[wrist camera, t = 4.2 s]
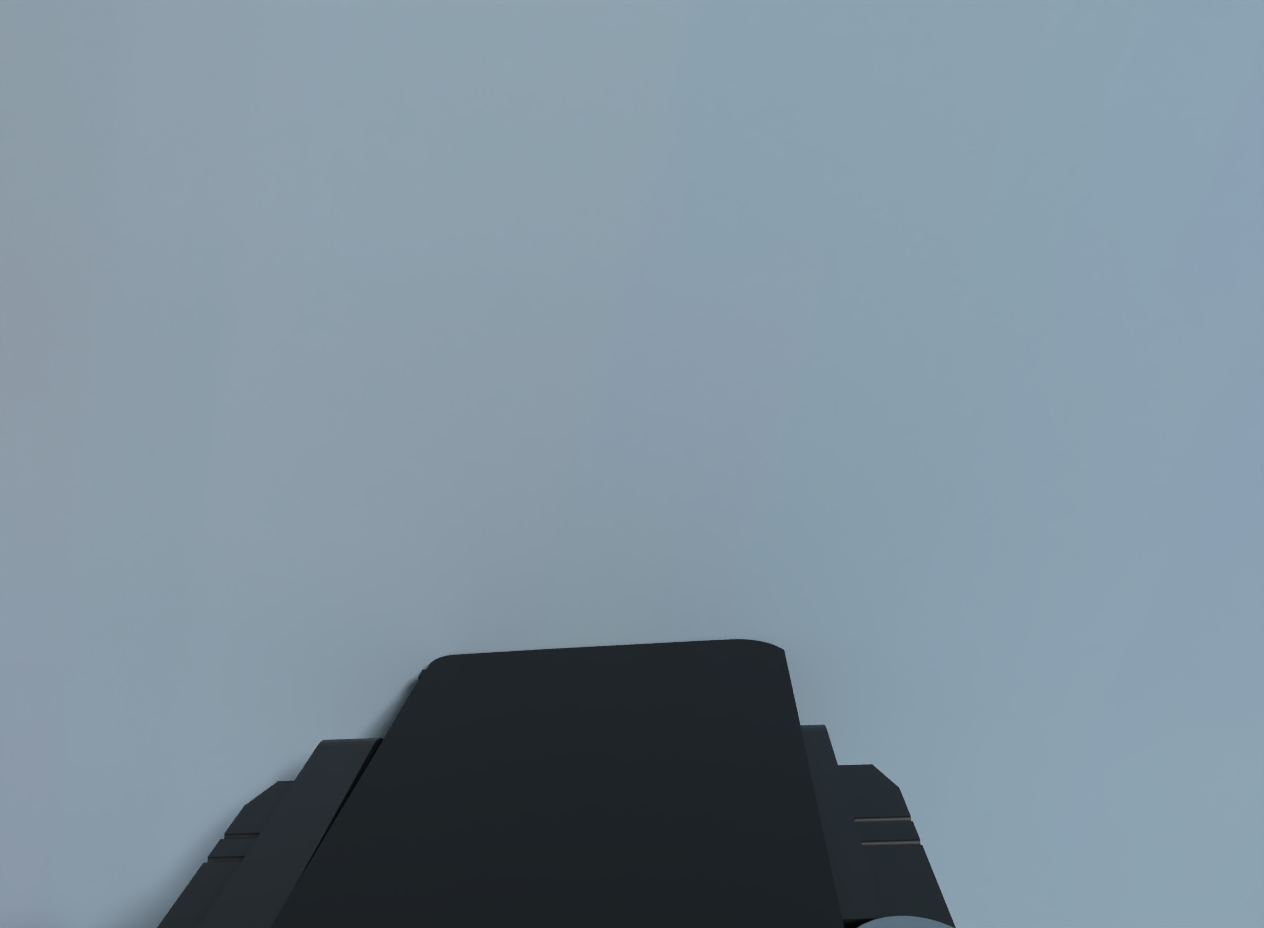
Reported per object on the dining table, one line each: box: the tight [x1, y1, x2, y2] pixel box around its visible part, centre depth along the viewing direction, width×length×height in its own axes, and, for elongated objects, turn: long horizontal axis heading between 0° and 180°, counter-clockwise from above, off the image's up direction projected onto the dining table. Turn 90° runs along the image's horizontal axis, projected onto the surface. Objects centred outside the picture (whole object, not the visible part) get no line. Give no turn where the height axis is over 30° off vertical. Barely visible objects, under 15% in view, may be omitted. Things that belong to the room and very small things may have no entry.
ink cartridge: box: [270, 639, 844, 928], centre depth 10 cm, size 5×2×8 cm, turn 94°
